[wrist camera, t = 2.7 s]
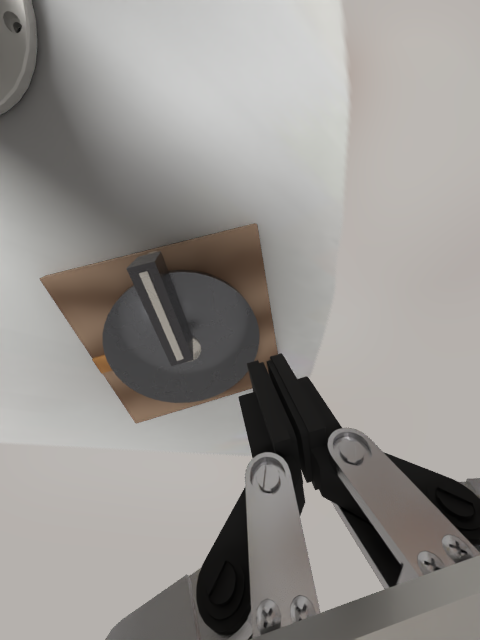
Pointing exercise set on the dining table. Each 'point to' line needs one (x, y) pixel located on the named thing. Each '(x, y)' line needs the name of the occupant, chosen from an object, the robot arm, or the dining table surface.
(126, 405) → the dial base plate
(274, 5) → the dining table surface
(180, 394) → the dial
